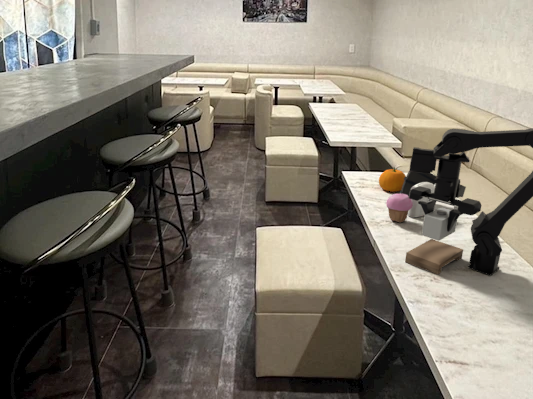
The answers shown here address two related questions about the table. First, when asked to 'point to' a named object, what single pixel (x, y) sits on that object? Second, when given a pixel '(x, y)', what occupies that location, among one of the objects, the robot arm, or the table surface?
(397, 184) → the fruit
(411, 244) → the table surface
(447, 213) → the block
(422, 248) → the walnut stand
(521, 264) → the table surface
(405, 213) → the cupcake
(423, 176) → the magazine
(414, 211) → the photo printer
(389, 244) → the table surface
